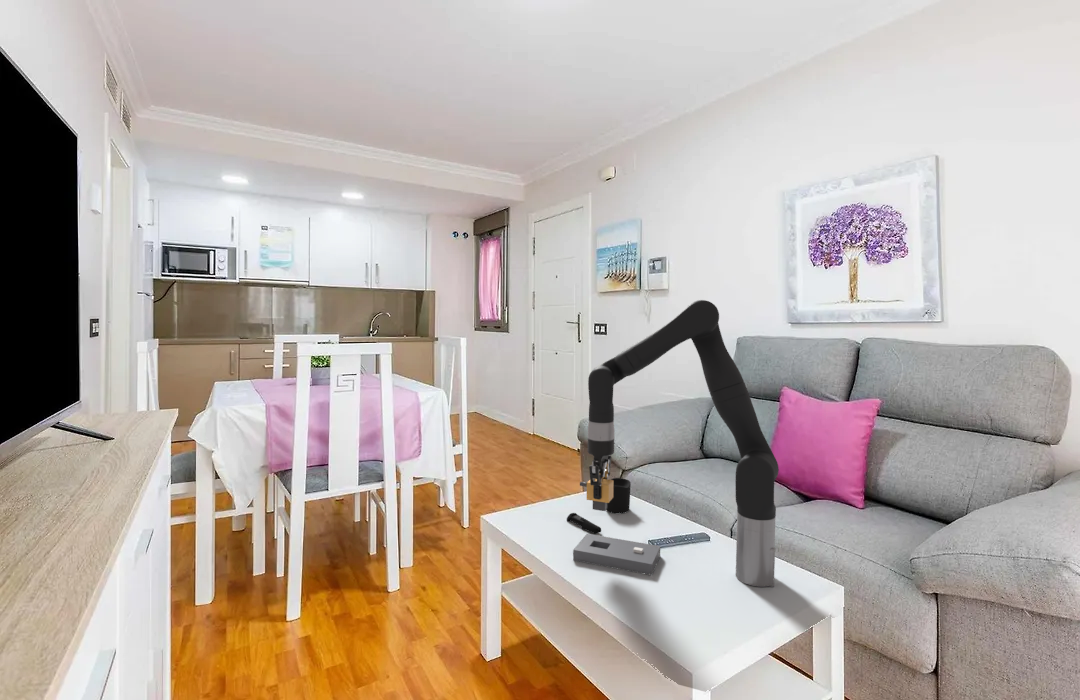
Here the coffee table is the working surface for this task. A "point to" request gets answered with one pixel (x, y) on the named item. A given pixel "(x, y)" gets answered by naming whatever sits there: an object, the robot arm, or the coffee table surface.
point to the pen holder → (620, 496)
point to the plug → (606, 494)
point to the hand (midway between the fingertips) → (600, 495)
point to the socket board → (617, 553)
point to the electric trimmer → (583, 523)
